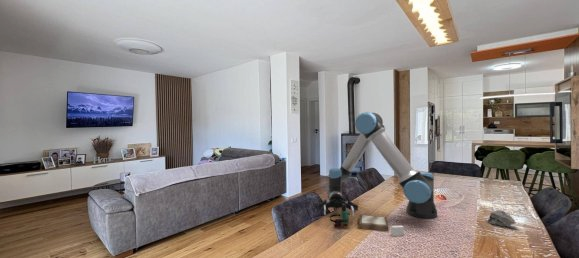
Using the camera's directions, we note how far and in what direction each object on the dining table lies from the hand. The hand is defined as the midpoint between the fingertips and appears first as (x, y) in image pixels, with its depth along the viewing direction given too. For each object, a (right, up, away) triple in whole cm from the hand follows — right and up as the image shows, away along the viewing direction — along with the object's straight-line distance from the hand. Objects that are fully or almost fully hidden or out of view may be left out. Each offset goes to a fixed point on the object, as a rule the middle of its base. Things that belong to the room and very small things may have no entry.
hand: (339, 212), depth 122 cm
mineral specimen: (+79, -6, 0) cm, 79 cm away
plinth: (+17, -7, +2) cm, 19 cm away
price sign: (+24, -7, -10) cm, 27 cm away
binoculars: (+1, -7, +2) cm, 7 cm away
